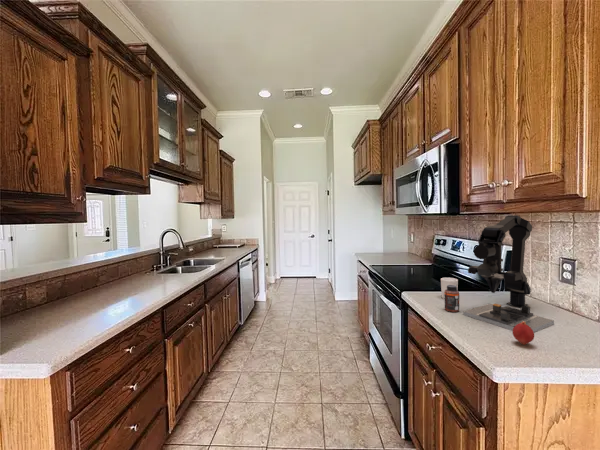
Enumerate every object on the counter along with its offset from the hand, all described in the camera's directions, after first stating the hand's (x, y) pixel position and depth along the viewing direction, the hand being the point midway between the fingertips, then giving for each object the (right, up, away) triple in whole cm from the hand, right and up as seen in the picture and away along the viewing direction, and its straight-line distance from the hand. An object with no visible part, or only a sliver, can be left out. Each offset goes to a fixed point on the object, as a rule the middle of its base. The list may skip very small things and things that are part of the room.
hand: (493, 292), depth 122 cm
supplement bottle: (-14, -10, +8) cm, 19 cm away
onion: (-8, -12, -26) cm, 29 cm away
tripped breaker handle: (+1, -7, -1) cm, 8 cm away
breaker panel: (+3, -10, -4) cm, 11 cm away
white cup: (-6, -9, +25) cm, 28 cm away
